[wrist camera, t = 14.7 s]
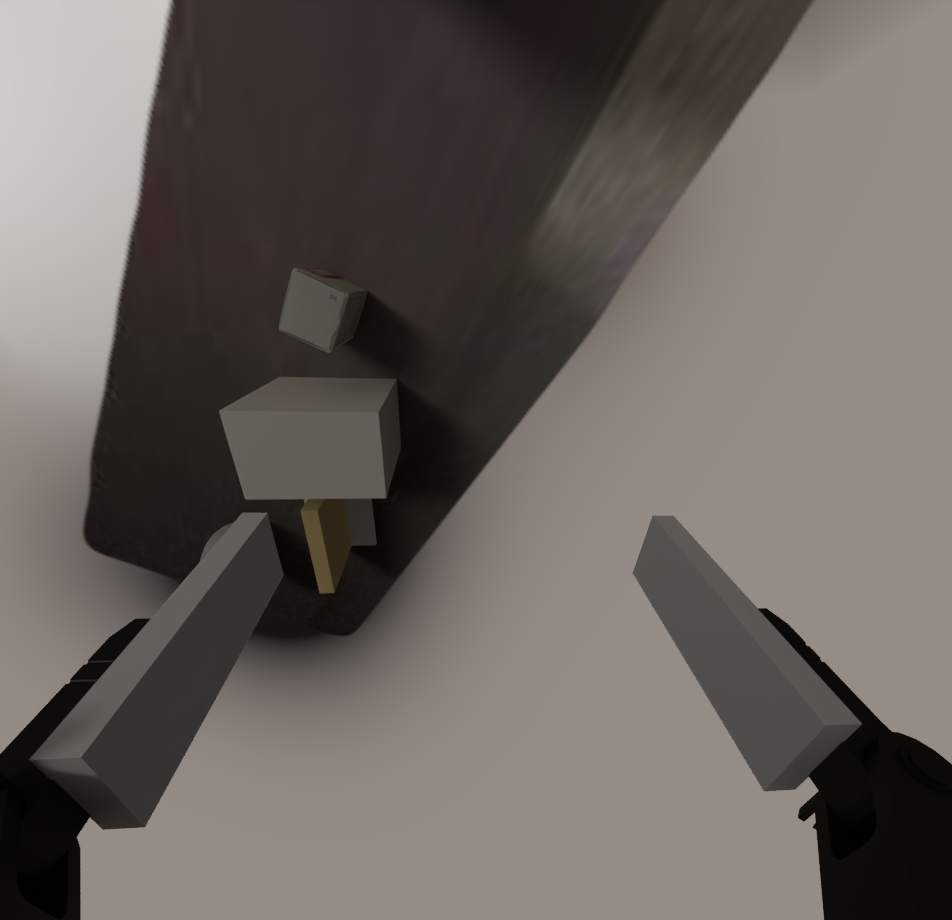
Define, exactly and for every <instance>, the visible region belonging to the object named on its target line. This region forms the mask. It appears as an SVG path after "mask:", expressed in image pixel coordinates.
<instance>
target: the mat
mask: <svg viewBox="0 0 952 920" xmlns="http://www.w3.org/2000/svg"><path fill="white" fill-rule="evenodd" d="M307 500H308V499H304V502H305V503H306V502H307ZM344 500H345V506H346V512H347V519H348V525H349V531H350V537H351V543H352V546H359V545H377V540H376V531H375V522H374V513H373V504H372V498H365V499H344Z"/></svg>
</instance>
